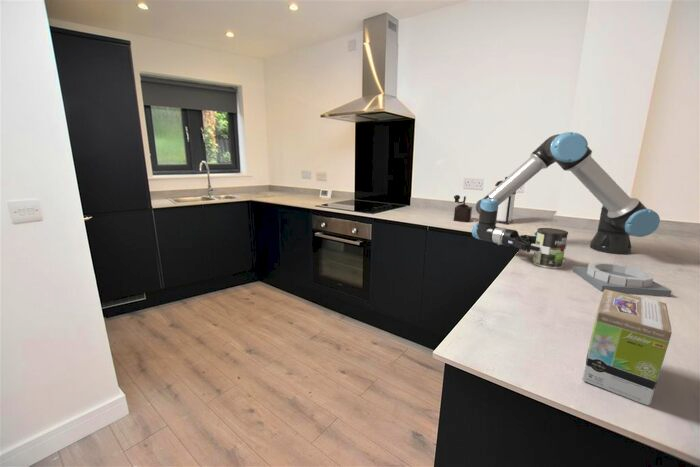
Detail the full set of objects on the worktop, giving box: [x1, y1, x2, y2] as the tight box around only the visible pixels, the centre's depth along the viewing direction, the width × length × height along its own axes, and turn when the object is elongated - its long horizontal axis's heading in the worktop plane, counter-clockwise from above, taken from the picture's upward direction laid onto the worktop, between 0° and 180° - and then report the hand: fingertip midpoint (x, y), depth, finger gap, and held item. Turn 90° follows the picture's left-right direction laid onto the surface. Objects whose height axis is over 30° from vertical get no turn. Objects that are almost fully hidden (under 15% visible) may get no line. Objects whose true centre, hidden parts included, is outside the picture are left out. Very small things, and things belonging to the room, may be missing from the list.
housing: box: [572, 261, 672, 298], centre depth 108 cm, size 19×19×4 cm
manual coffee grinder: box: [453, 194, 473, 223], centre depth 211 cm, size 16×11×18 cm
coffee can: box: [532, 227, 569, 270], centre depth 125 cm, size 10×10×14 cm
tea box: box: [581, 289, 673, 406], centre depth 61 cm, size 15×10×15 cm, turn 138°
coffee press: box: [494, 176, 517, 225], centre depth 207 cm, size 17×16×30 cm
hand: (558, 248), depth 123 cm, fingers open, 13 cm apart
